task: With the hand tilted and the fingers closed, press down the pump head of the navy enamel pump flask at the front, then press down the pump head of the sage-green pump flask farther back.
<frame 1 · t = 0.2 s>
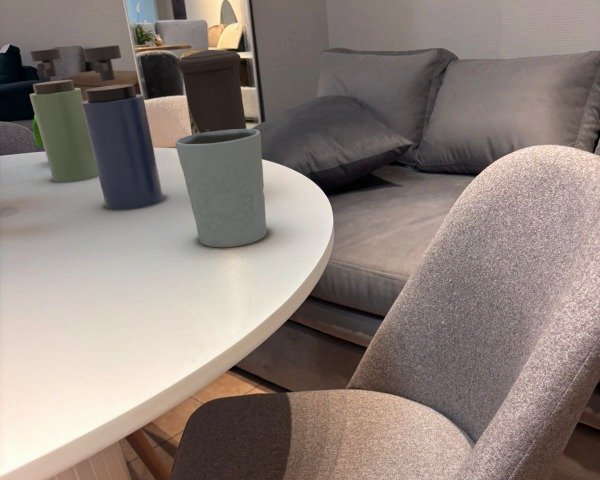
navy flask: (134, 202, 101), on the table
sage flask: (77, 176, 124), on the table
sage flask pump: (46, 63, 112), point 20 cm above the table, slide at 0.1 cm
navy flask pump: (102, 64, 90), point 20 cm above the table, slide at 0.1 cm
snack cup: (73, 163, 138), on the table
grey-green cup: (232, 237, 81), on the table
container: (229, 196, 100), on the table
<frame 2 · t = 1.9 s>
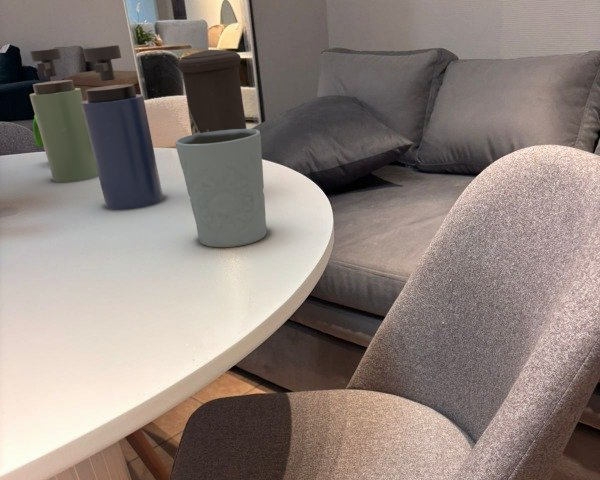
nothing on the table moved.
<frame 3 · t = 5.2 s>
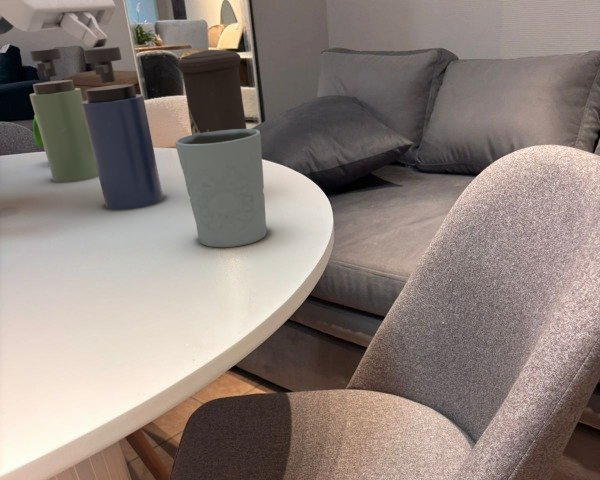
hand: (100, 43, 90), 22 cm above the table, tool tilted 45°, fingers closed, pressing on navy flask pump
navy flask pump: (103, 66, 90), point 19 cm above the table, slide at -0.2 cm, touching gripper
everything else where it was.
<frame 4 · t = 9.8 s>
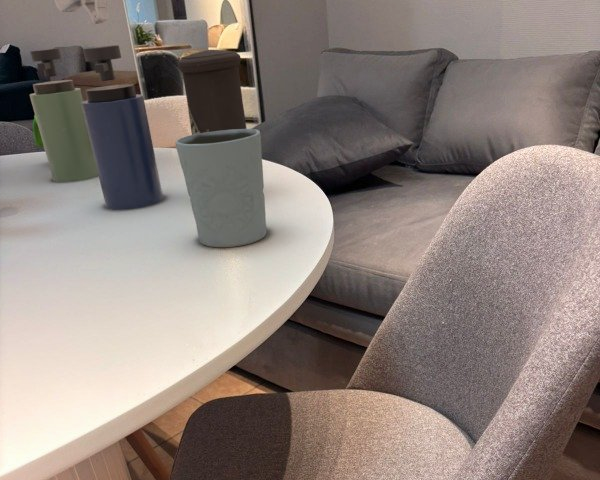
hand: (101, 22, 112), 25 cm above the table, tool pointing down, fingers closed
navy flask pump: (102, 64, 90), point 20 cm above the table, slide at 0.1 cm
everything else where it was.
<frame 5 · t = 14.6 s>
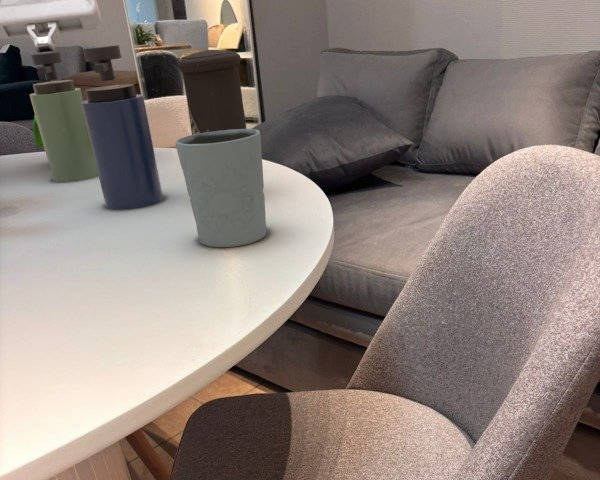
hand: (44, 49, 113), 22 cm above the table, tool tilted 45°, fingers closed, pressing on sage flask pump
sage flask pump: (47, 67, 113), point 19 cm above the table, slide at -0.5 cm, touching gripper
everything else where it was.
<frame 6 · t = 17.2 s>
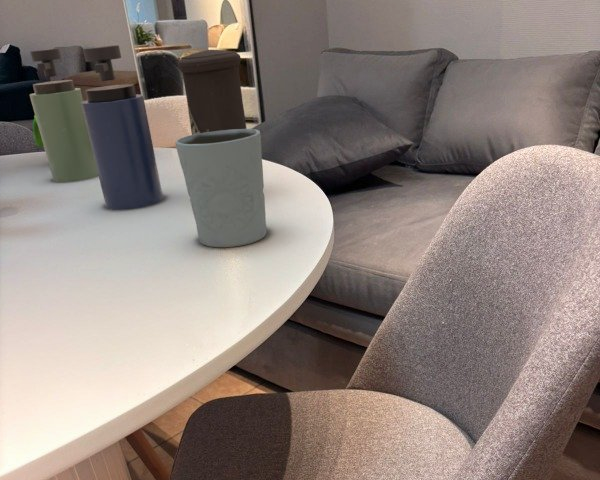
sage flask pump: (46, 63, 112), point 20 cm above the table, slide at 0.1 cm
everything else where it was.
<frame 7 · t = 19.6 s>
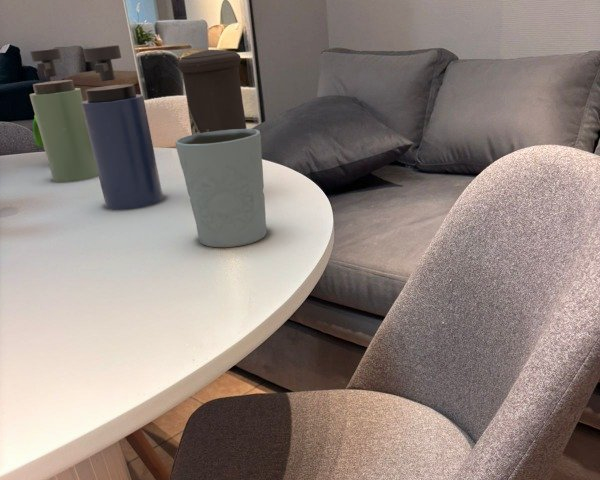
nothing on the table moved.
at the end: navy flask pump pushed in 0.9 cm at the most during the clip, back to where it started at the end; sage flask pump pushed in 0.9 cm at the most during the clip, back to where it started at the end; sage flask pump slide at 0.1 cm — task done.
